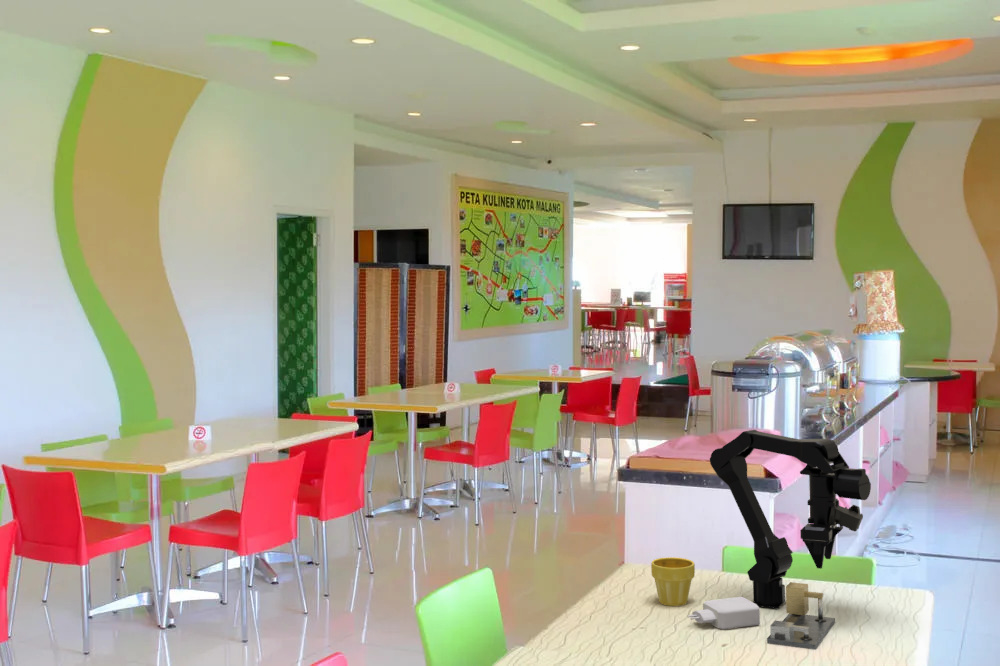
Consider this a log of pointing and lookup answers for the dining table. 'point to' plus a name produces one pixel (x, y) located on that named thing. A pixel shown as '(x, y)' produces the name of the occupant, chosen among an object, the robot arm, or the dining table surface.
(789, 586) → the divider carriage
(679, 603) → the plant pot
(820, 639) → the dividers base
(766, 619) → the dining table surface
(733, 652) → the dining table surface
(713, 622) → the charger
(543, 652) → the dining table surface
